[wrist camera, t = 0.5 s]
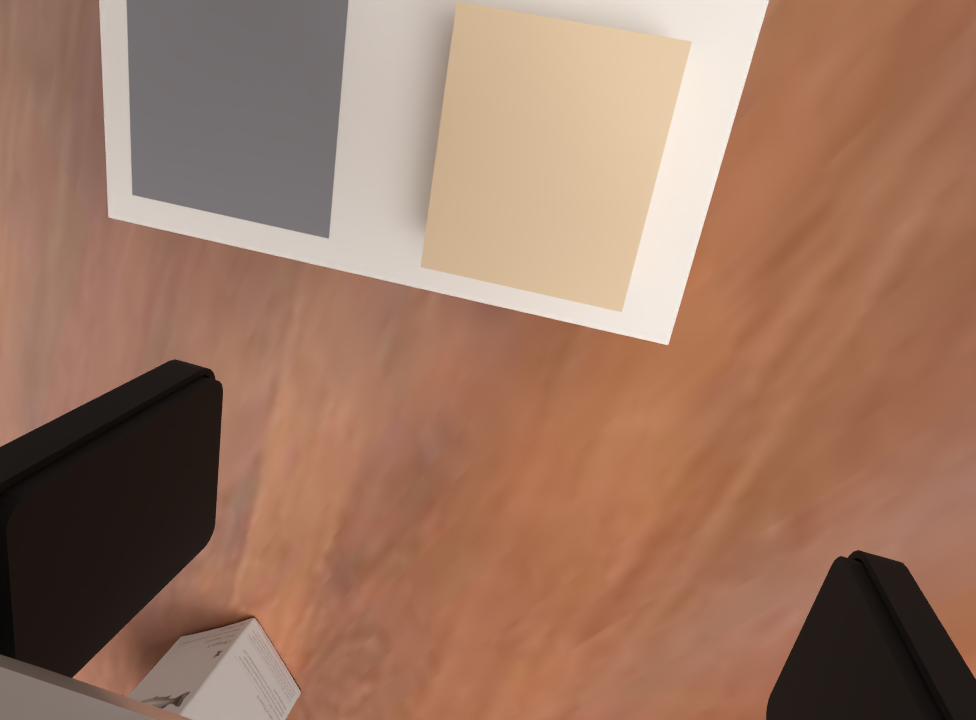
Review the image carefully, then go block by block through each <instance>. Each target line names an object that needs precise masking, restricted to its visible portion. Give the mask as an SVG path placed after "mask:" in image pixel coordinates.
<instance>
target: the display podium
mask: <svg viewBox="0 0 976 720" xmlns="http://www.w3.org/2000/svg"><path fill="white" fill-rule="evenodd" d="M457 2H463V3H469V4H475V5H481V6H487V7H492V8H498V9H504V10H510V11H516V12H522V13H528V14H534V15H539V16H545V17H551V18H557V19H563V20H569V21H575V22H581V23H586V24H592V25H598V26H604V27H610V28H616V29H622V30H628V31H633V32H639V33H645V34H651V35H657V36H663V37H669V38H675V39H680V40H686V41H692V43H691V47H690V51H689V55H688V59H687V63H686V67H685V70H684V74H683V78H682V82H681V86H680V90H679V94H678V97H677V101H676V105H675V109H674V113H673V117H672V121H671V124H670V128H669V132H668V136H667V140H666V144H665V148H664V151H663V155H662V159H661V163H660V167H659V171H658V175H657V178H656V182H655V186H654V190H653V194H652V198H651V202H650V205H649V209H648V213H647V217H646V221H645V225H644V229H643V232H642V236H641V240H640V244H639V248H638V252H637V256H636V260H635V263H634V267H633V271H632V275H631V279H630V283H629V287H628V290H627V294H626V298H625V302H624V306H623V310H622V312H619V311H614V310H610V309H605V308H601V307H596V306H592V305H588V304H583V303H579V302H574V301H570V300H565V299H561V298H556V297H552V296H547V295H543V294H538V293H534V292H530V291H525V290H521V289H516V288H512V287H507V286H503V285H498V284H494V283H489V282H485V281H480V280H476V279H471V278H467V277H463V276H458V275H454V274H449V273H445V272H440V271H436V270H431V269H427V268H422V267H421V261H422V253H423V246H424V239H425V231H426V224H427V217H428V209H429V202H430V195H431V187H432V180H433V173H434V165H435V158H436V151H437V143H438V136H439V128H440V121H441V114H442V106H443V99H444V92H445V84H446V77H447V70H448V62H449V55H450V48H451V40H452V33H453V26H454V18H455V11H456V4H457ZM768 2H769V0H99V7H100V31H101V54H102V77H103V100H104V123H105V147H106V170H107V193H108V216H109V218H113V219H118V220H122V221H127V222H131V223H135V224H140V225H144V226H149V227H153V228H157V229H162V230H166V231H170V232H175V233H179V234H184V235H188V236H192V237H197V238H201V239H206V240H210V241H214V242H219V243H223V244H227V245H232V246H236V247H241V248H245V249H249V250H254V251H258V252H262V253H267V254H271V255H276V256H280V257H284V258H289V259H293V260H298V261H302V262H306V263H311V264H315V265H319V266H324V267H328V268H333V269H337V270H341V271H346V272H350V273H354V274H359V275H363V276H368V277H372V278H376V279H381V280H385V281H390V282H394V283H398V284H403V285H407V286H411V287H416V288H420V289H425V290H429V291H433V292H438V293H442V294H446V295H451V296H455V297H460V298H464V299H468V300H473V301H477V302H482V303H486V304H490V305H495V306H499V307H503V308H508V309H512V310H517V311H521V312H525V313H530V314H534V315H538V316H543V317H547V318H552V319H556V320H560V321H565V322H569V323H574V324H578V325H582V326H587V327H591V328H595V329H600V330H604V331H609V332H613V333H617V334H622V335H626V336H631V337H635V338H639V339H644V340H648V341H652V342H657V343H661V344H666V345H668V344H669V340H670V337H671V333H672V330H673V327H674V323H675V320H676V316H677V313H678V309H679V306H680V303H681V299H682V296H683V292H684V289H685V286H686V282H687V279H688V275H689V272H690V268H691V265H692V262H693V258H694V255H695V251H696V248H697V244H698V241H699V238H700V234H701V231H702V227H703V224H704V221H705V217H706V214H707V210H708V207H709V203H710V200H711V197H712V193H713V190H714V186H715V183H716V179H717V176H718V173H719V169H720V166H721V162H722V159H723V156H724V152H725V149H726V145H727V142H728V138H729V135H730V132H731V128H732V125H733V121H734V118H735V114H736V111H737V108H738V104H739V101H740V97H741V94H742V91H743V87H744V84H745V80H746V77H747V73H748V70H749V67H750V63H751V60H752V56H753V53H754V49H755V46H756V43H757V39H758V36H759V32H760V29H761V26H762V22H763V19H764V15H765V12H766V8H767V5H768Z"/></svg>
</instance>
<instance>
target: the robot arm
mask: <svg viewBox="0 0 976 720" xmlns="http://www.w3.org/2000/svg"><path fill="white" fill-rule="evenodd" d="M222 399H223V387H222V384H221V383H220V382H219V381H217V380H215V376H214V373H213V372H212V371H211V369H208V368H204V367H201V366H197V365H194V364H190V363H187V362H183V361H179V360H171V361H168V362H166V363H164V364H162V365H161V366H159V367H157V368H155V369H153V370H151V371H149V372H147V373H145V374H143V375H141V376H139V377H137V378H135V379H133V380H131V381H129V382H127V383H125V384H123V385H121V386H119V387H117V388H115V389H113V390H111V391H109V392H107V393H106V394H104V395H102V396H100V397H98V398H96V399H94V400H92V401H90V402H88V403H86V404H84V405H82V406H80V407H78V408H76V409H74V410H72V411H70V412H68V413H66V414H64V415H62V416H60V417H58V418H56V419H54V420H53V421H51V422H49V423H47V424H45V425H43V426H41V427H39V428H37V429H35V430H33V431H31V432H29V433H27V434H25V435H23V436H21V437H19V438H17V439H15V440H13V441H11V442H9V443H7V444H5V445H3V446H1V447H0V720H192V719H190V718H187V717H184V716H181V715H178V714H175V713H172V712H169V711H166V710H163V709H160V708H157V707H154V706H152V705H149V704H146V703H143V702H140V701H137V700H134V699H131V698H128V697H125V696H122V695H119V694H117V693H114V692H111V691H108V690H105V689H102V688H99V687H96V686H93V685H90V684H87V683H84V682H81V681H79V680H76V679H73V678H72V677H73V676H74V675H75V674H76V673H77V672H79V671H80V670H81V669H82V668H83V667H84V666H85V665H86V664H87V663H88V662H89V661H90V660H91V659H92V658H93V657H94V656H95V655H96V654H97V653H98V652H99V651H100V650H101V649H102V648H103V647H104V646H105V645H106V644H107V643H108V642H109V641H110V640H111V639H112V638H113V637H114V636H115V635H116V634H117V633H118V632H119V631H120V630H121V629H122V628H123V627H124V626H125V625H126V624H127V623H128V622H129V621H130V620H131V619H132V618H133V617H134V616H135V615H136V614H137V613H138V612H139V611H140V610H141V609H143V608H144V607H145V606H146V605H147V604H148V603H149V602H150V601H151V600H152V599H153V598H154V597H155V596H156V595H157V594H158V593H159V592H160V591H161V590H162V589H163V588H164V587H165V586H166V585H167V584H168V583H169V582H170V581H171V580H172V579H173V578H174V577H175V576H176V575H177V574H178V573H179V572H180V571H181V570H182V569H183V568H184V567H185V566H186V565H187V564H188V563H189V562H190V561H191V560H192V559H193V558H194V557H195V556H196V555H197V554H198V553H199V552H200V551H201V550H202V549H203V548H204V547H205V546H206V545H207V543H208V542H209V540H210V538H211V536H212V534H213V531H214V527H215V518H216V501H217V484H218V467H219V450H220V433H221V416H222ZM766 720H976V679H975V678H974V676H973V674H972V673H971V671H970V669H969V668H968V666H967V665H966V663H965V661H964V660H963V658H962V656H961V655H960V653H959V652H958V650H957V648H956V647H955V645H954V643H953V642H952V640H951V639H950V637H949V635H948V634H947V632H946V630H945V629H944V627H943V625H942V624H941V622H940V621H939V619H938V617H937V616H936V614H935V612H934V611H933V609H932V608H931V606H930V604H929V603H928V601H927V599H926V598H925V596H924V594H923V593H922V591H921V590H920V588H919V586H918V585H917V583H916V581H915V580H914V578H913V577H912V575H911V573H910V572H909V570H908V568H907V567H906V566H905V565H904V564H903V563H901V562H898V561H895V560H891V559H888V558H884V557H880V556H877V555H873V554H870V553H866V552H863V551H859V550H858V551H854V552H853V553H852V554H851V555H850V556H849V557H848V558H846V557H842V556H840V557H838V558H837V559H836V560H835V561H834V562H833V564H832V566H831V568H830V570H829V572H828V574H827V576H826V578H825V581H824V583H823V585H822V587H821V589H820V591H819V593H818V595H817V597H816V600H815V602H814V604H813V606H812V608H811V610H810V612H809V614H808V616H807V619H806V621H805V623H804V625H803V627H802V629H801V631H800V633H799V636H798V638H797V640H796V642H795V644H794V646H793V648H792V650H791V652H790V655H789V657H788V659H787V661H786V663H785V665H784V667H783V669H782V671H781V674H780V676H779V678H778V680H777V682H776V684H775V686H774V688H773V691H772V693H771V695H770V697H769V700H768V705H767V712H766Z"/></svg>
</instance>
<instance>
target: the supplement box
mask: <svg viewBox="0 0 976 720" xmlns="http://www.w3.org/2000/svg"><path fill="white" fill-rule="evenodd" d="M300 694H301V692H300V690H299V688H298V686H297V685H296V683H295V681H294V679H293V678H292V676H291V675H290V673H289V671H288V670H287V668H286V666H285V665H284V663H283V661H282V660H281V658H280V657H279V655H278V653H277V651H276V650H275V648H274V647H273V645H272V643H271V642H270V640H269V638H268V637H267V635H266V634H265V632H264V630H263V629H262V627H261V625H260V624H259V623H258V621H257V620H256V619H255V618H250V619H248V620H245V621H242V622H238V623H235V624H232V625H228V626H225V627H221V628H217V629H212V630H209V631H204V632H200V633H196V634H191V635H186V636H182V637H180V638H179V639H178V640H177V642H176V643H175V644H174V645H173V646H172V647H171V648H170V650H169V651H168V652H167V653H166V654H165V655H164V656H163V657H162V658H161V660H160V661H159V662H158V663H157V664H156V665H155V666H154V668H153V669H152V670H151V671H150V672H149V673H148V674H147V676H146V677H145V678H144V679H143V680H142V681H141V682H140V684H139V685H138V686H137V687H136V688H135V689H134V690H133V692H132V693H131V694H130V695H129V696H128V698H131V699H134V700H137V701H140V702H143V703H146V704H149V705H152V706H154V707H157V708H160V709H163V710H166V711H169V712H172V713H175V714H178V715H181V716H184V717H187V718H190V719H192V720H285V719H286V717H287V716H288V714H289V712H290V711H291V709H292V707H293V705H294V704H295V702H296V700H297V699H298V697H299V695H300Z"/></svg>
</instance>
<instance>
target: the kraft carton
mask: <svg viewBox="0 0 976 720" xmlns="http://www.w3.org/2000/svg"><path fill="white" fill-rule="evenodd" d="M691 43H692V41H686V40H680V39H675V38H669V37H663V36H657V35H651V34H645V33H639V32H633V31H628V30H622V29H616V28H610V27H604V26H598V25H592V24H586V23H581V22H575V21H569V20H563V19H557V18H551V17H545V16H539V15H534V14H528V13H522V12H516V11H510V10H504V9H498V8H492V7H487V6H481V5H475V4H469V3H463V2H457V4H456V11H455V18H454V26H453V33H452V40H451V48H450V55H449V62H448V70H447V77H446V84H445V92H444V99H443V106H442V114H441V121H440V128H439V136H438V143H437V151H436V158H435V165H434V173H433V180H432V187H431V195H430V202H429V209H428V217H427V224H426V231H425V239H424V246H423V253H422V261H421V267H422V268H427V269H431V270H436V271H440V272H445V273H449V274H454V275H458V276H463V277H467V278H471V279H476V280H480V281H485V282H489V283H494V284H498V285H503V286H507V287H512V288H516V289H521V290H525V291H530V292H534V293H538V294H543V295H547V296H552V297H556V298H561V299H565V300H570V301H574V302H579V303H583V304H588V305H592V306H596V307H601V308H605V309H610V310H614V311H619V312H622V310H623V306H624V302H625V298H626V294H627V290H628V287H629V283H630V279H631V275H632V271H633V267H634V263H635V260H636V256H637V252H638V248H639V244H640V240H641V236H642V232H643V229H644V225H645V221H646V217H647V213H648V209H649V205H650V202H651V198H652V194H653V190H654V186H655V182H656V178H657V175H658V171H659V167H660V163H661V159H662V155H663V151H664V148H665V144H666V140H667V136H668V132H669V128H670V124H671V121H672V117H673V113H674V109H675V105H676V101H677V97H678V94H679V90H680V86H681V82H682V78H683V74H684V70H685V67H686V63H687V59H688V55H689V51H690V47H691Z"/></svg>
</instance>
